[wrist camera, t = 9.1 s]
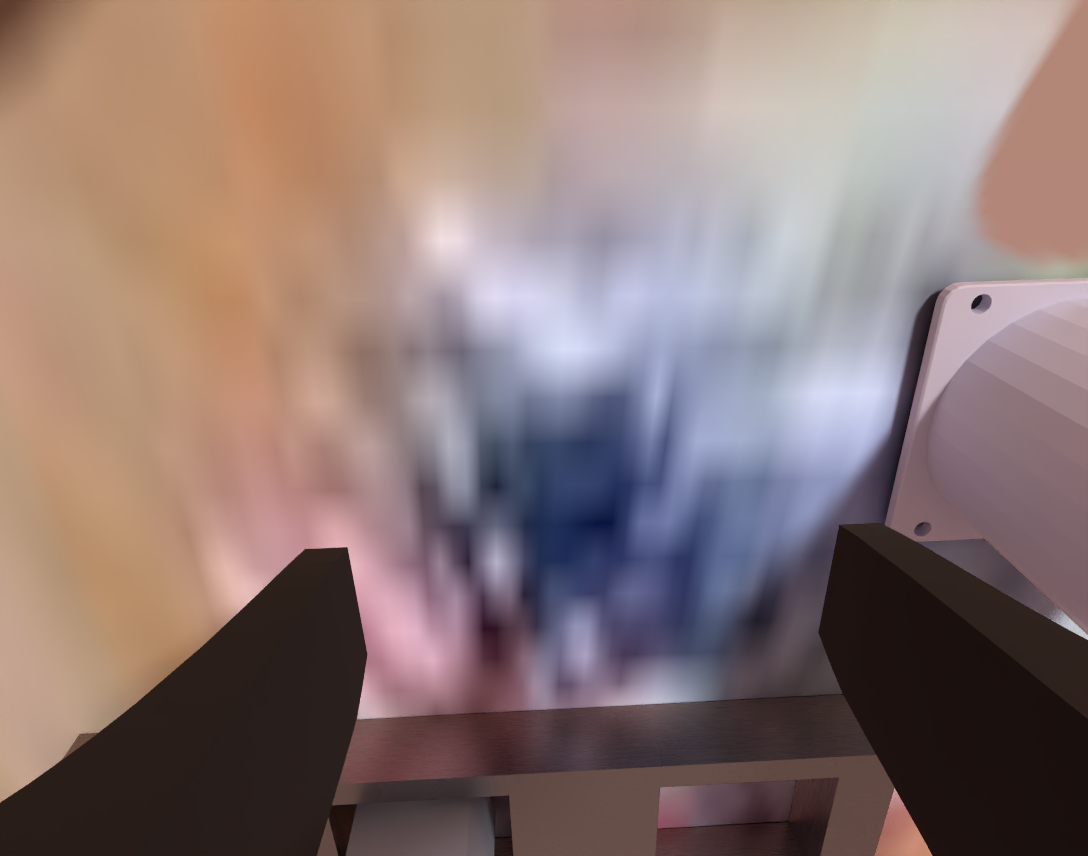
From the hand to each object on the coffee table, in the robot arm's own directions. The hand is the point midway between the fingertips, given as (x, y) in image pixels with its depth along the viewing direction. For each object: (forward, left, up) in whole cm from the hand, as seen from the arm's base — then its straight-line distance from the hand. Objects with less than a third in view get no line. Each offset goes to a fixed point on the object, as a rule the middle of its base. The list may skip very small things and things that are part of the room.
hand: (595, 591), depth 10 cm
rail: (+3, +17, -9) cm, 20 cm away
